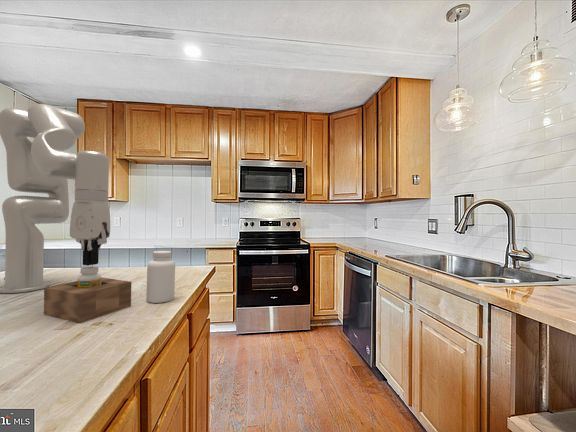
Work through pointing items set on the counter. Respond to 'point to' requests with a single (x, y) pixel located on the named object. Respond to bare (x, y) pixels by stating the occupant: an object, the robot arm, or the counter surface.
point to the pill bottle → (160, 278)
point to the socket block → (86, 300)
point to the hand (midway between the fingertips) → (90, 264)
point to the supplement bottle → (89, 277)
